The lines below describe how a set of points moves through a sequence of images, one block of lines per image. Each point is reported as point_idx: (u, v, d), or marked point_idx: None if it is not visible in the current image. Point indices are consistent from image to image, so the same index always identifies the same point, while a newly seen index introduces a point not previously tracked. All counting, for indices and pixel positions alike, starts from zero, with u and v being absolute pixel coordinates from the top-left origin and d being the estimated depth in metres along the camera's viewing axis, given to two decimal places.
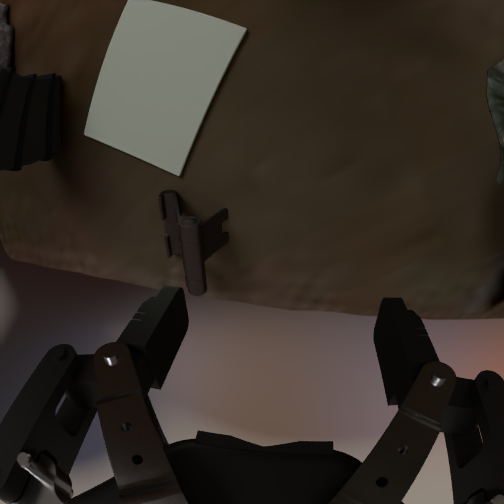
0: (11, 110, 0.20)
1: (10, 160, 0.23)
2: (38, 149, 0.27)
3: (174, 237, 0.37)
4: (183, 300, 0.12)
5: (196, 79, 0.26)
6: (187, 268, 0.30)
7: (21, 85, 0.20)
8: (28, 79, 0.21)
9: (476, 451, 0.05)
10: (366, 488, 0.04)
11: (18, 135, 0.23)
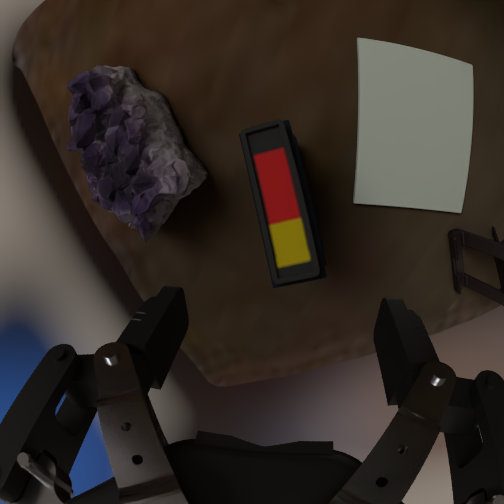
0: None
1: None
2: None
3: (460, 272, 0.31)
4: (183, 300, 0.12)
5: (457, 118, 0.24)
6: None
7: None
8: None
9: (476, 451, 0.05)
10: (366, 488, 0.04)
11: None
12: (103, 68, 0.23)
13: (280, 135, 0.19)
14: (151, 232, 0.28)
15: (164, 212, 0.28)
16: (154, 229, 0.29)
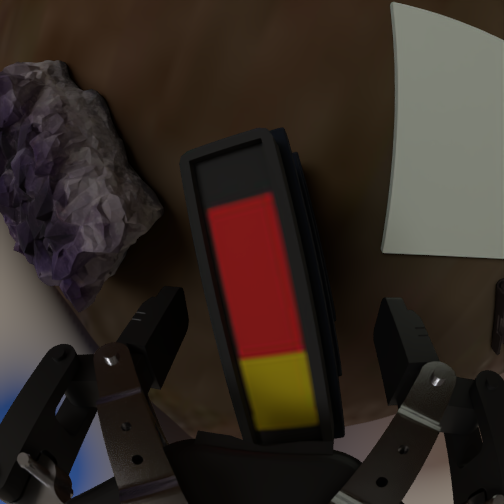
0: None
1: None
2: None
3: (502, 330, 0.21)
4: (183, 300, 0.12)
5: None
6: None
7: None
8: None
9: (476, 451, 0.05)
10: (366, 488, 0.04)
11: None
12: (17, 66, 0.12)
13: (265, 163, 0.09)
14: (85, 300, 0.18)
15: (100, 272, 0.18)
16: (90, 294, 0.18)
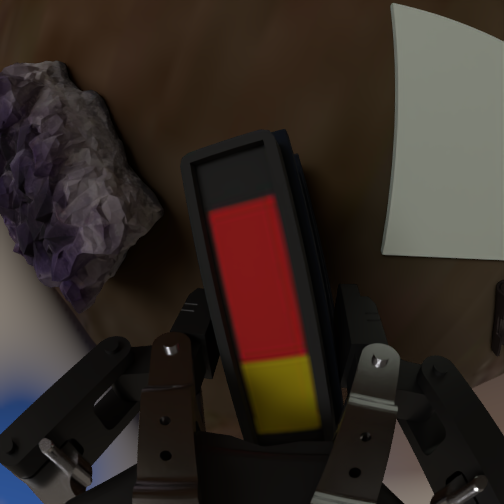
0: None
1: None
2: None
3: (502, 331, 0.21)
4: None
5: None
6: None
7: None
8: None
9: (439, 434, 0.06)
10: (341, 482, 0.04)
11: None
12: (16, 67, 0.12)
13: (267, 166, 0.09)
14: (85, 301, 0.18)
15: (99, 273, 0.18)
16: (90, 296, 0.18)
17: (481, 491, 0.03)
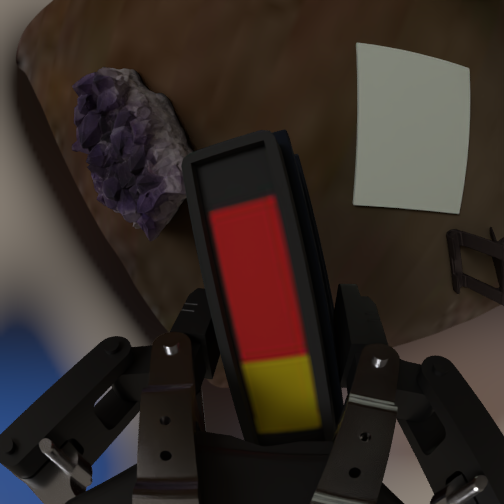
0: None
1: None
2: None
3: (459, 272, 0.32)
4: None
5: (454, 120, 0.25)
6: None
7: None
8: None
9: (439, 434, 0.06)
10: (341, 482, 0.04)
11: None
12: (108, 70, 0.23)
13: (268, 166, 0.09)
14: (156, 231, 0.29)
15: (168, 211, 0.29)
16: (158, 228, 0.29)
17: (481, 491, 0.03)
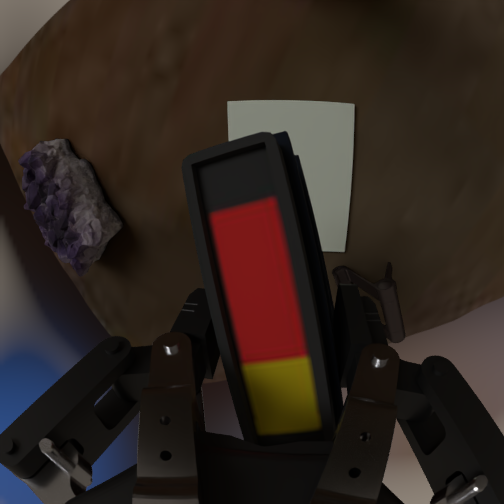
0: None
1: None
2: None
3: None
4: None
5: (333, 163, 0.32)
6: (391, 322, 0.31)
7: None
8: None
9: (439, 434, 0.06)
10: (341, 482, 0.04)
11: None
12: (42, 146, 0.30)
13: (268, 168, 0.09)
14: (83, 270, 0.36)
15: (90, 255, 0.36)
16: (85, 267, 0.36)
17: (481, 491, 0.03)
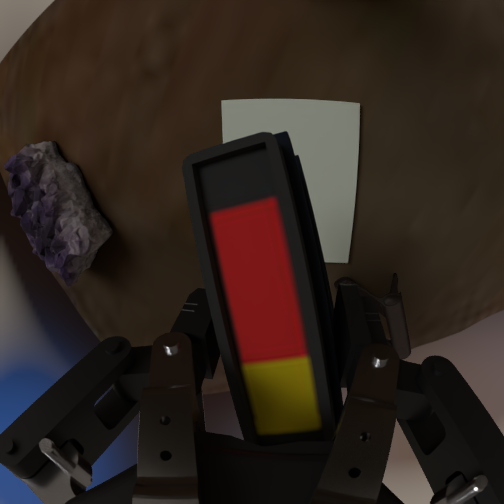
0: None
1: None
2: None
3: None
4: None
5: (336, 167, 0.29)
6: (396, 339, 0.29)
7: None
8: None
9: (439, 434, 0.06)
10: (341, 482, 0.04)
11: None
12: (27, 150, 0.28)
13: (269, 168, 0.09)
14: (71, 279, 0.33)
15: (79, 264, 0.33)
16: (74, 277, 0.34)
17: (481, 491, 0.03)
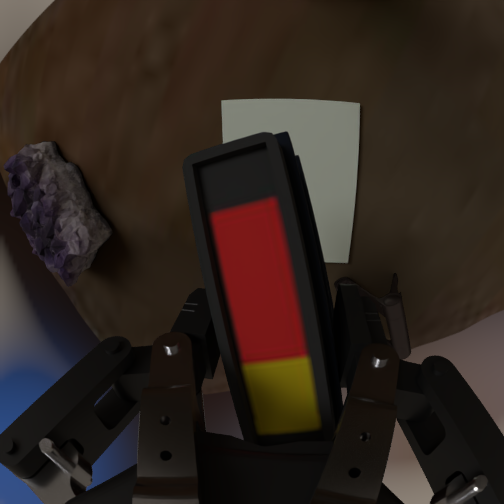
0: None
1: None
2: None
3: None
4: None
5: (336, 167, 0.29)
6: (396, 339, 0.29)
7: None
8: None
9: (439, 434, 0.06)
10: (341, 482, 0.04)
11: None
12: (27, 150, 0.28)
13: (269, 168, 0.09)
14: (71, 279, 0.33)
15: (78, 264, 0.33)
16: (74, 277, 0.34)
17: (481, 491, 0.03)
